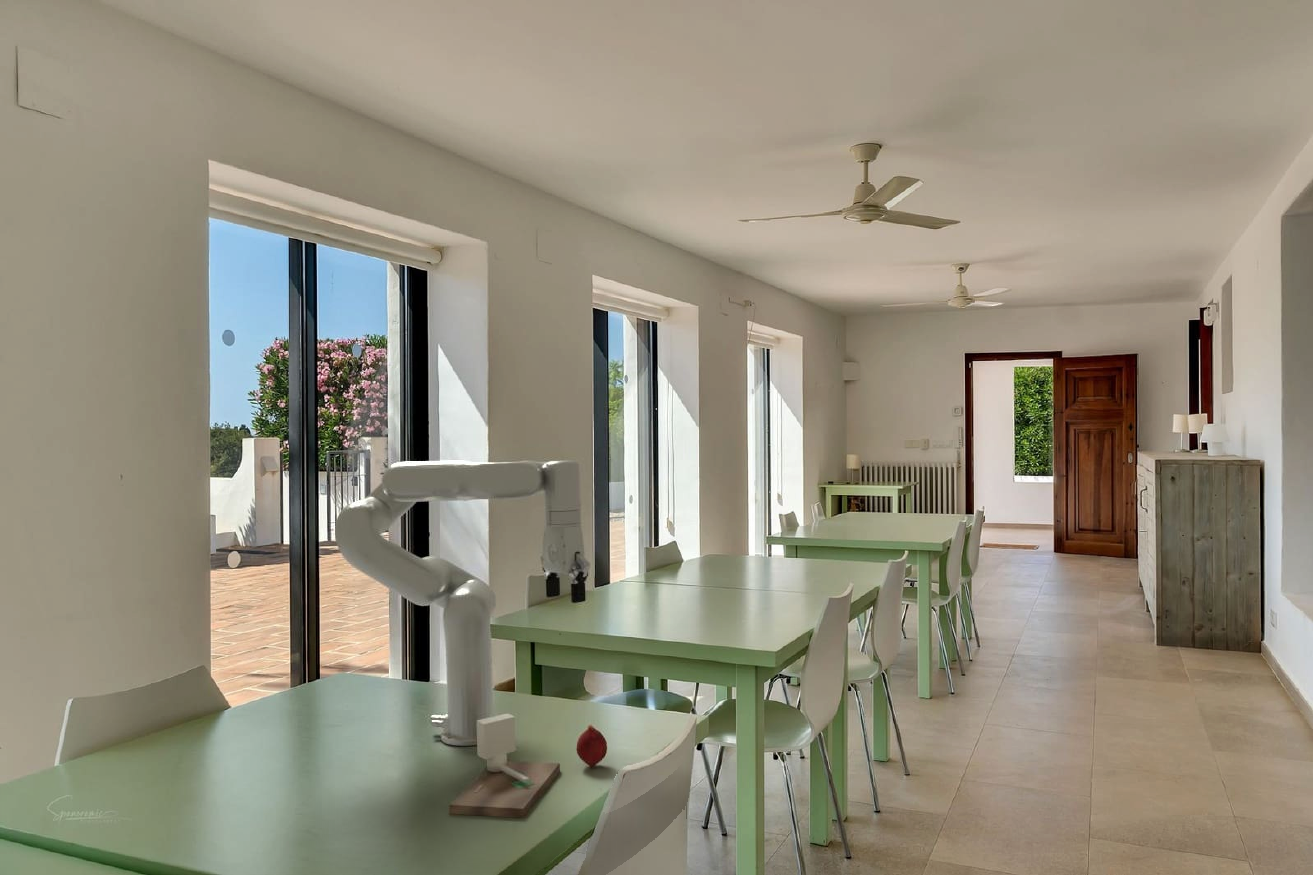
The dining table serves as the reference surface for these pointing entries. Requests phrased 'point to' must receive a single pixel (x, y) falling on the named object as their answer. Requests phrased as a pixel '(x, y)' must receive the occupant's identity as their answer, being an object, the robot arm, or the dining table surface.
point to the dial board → (505, 790)
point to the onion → (591, 746)
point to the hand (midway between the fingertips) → (565, 599)
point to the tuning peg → (497, 743)
